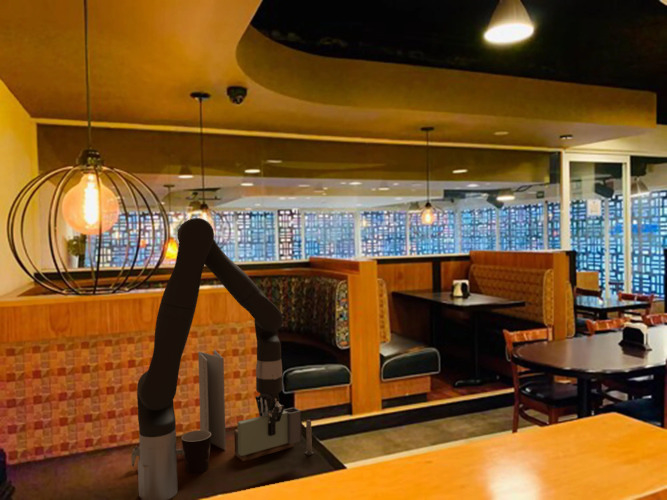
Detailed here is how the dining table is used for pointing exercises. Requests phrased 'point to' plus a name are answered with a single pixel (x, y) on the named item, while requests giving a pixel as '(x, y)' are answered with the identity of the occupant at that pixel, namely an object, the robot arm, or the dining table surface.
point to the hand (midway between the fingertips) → (269, 433)
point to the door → (256, 432)
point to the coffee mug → (196, 451)
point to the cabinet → (276, 448)
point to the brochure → (212, 397)
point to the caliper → (137, 453)
